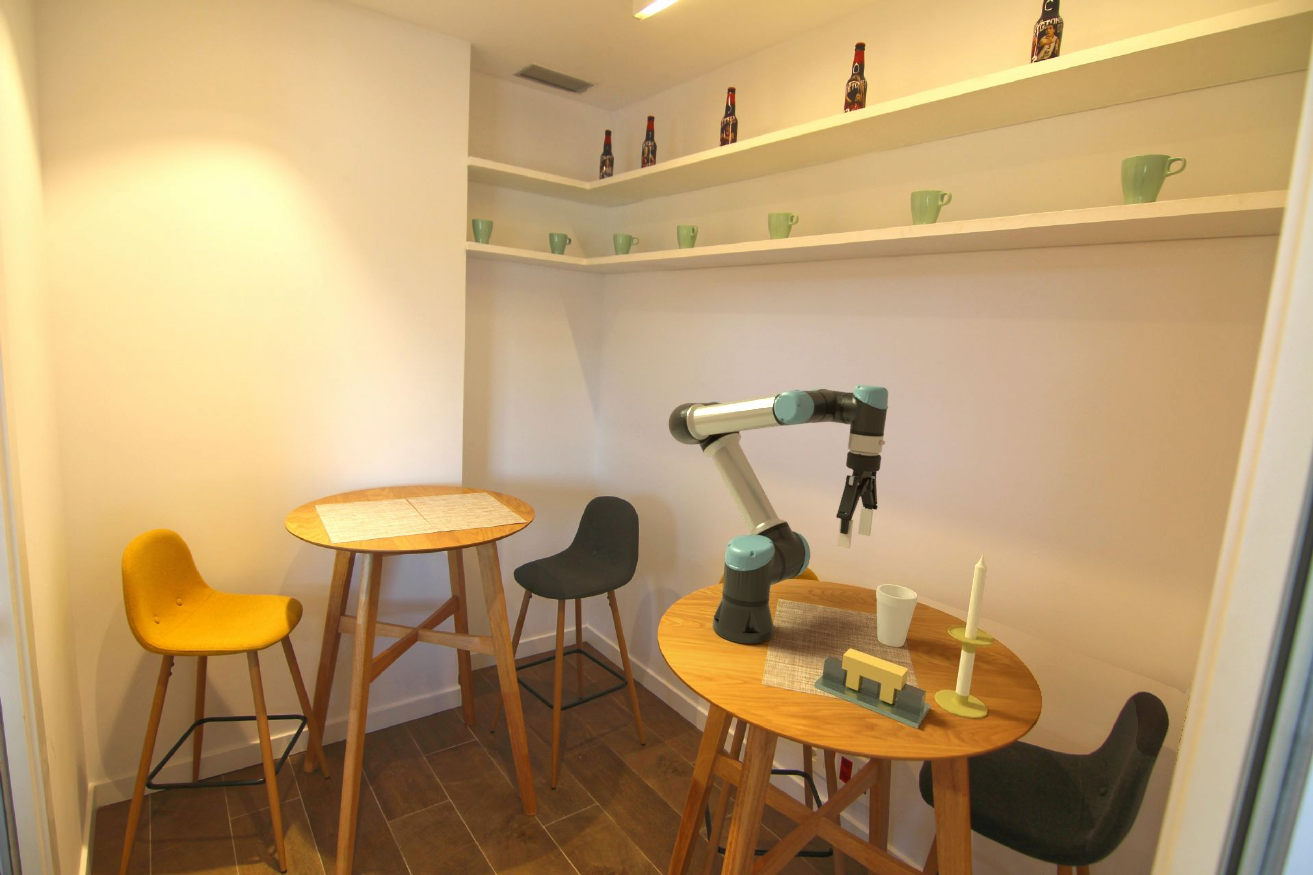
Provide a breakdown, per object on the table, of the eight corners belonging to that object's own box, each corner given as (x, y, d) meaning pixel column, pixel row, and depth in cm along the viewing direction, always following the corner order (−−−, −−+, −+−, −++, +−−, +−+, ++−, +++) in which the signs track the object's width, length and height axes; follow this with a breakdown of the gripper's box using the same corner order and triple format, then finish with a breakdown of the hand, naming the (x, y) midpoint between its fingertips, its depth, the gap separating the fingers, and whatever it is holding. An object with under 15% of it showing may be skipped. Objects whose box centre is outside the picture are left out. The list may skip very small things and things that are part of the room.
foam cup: (914, 652, 149) (920, 601, 147) (874, 646, 151) (880, 596, 149) (906, 635, 158) (912, 587, 156) (868, 629, 160) (874, 582, 158)
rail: (814, 686, 130) (816, 664, 130) (830, 670, 137) (832, 649, 137) (917, 728, 118) (920, 704, 117) (929, 708, 125) (932, 685, 124)
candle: (963, 722, 121) (987, 564, 116) (923, 695, 130) (944, 547, 125) (999, 713, 125) (1023, 560, 120) (957, 687, 134) (978, 544, 129)
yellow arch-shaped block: (839, 683, 129) (843, 654, 128) (846, 676, 133) (850, 648, 132) (898, 706, 122) (902, 676, 121) (904, 698, 125) (908, 668, 124)
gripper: (861, 460, 130) (850, 556, 134) (897, 449, 150) (886, 533, 153) (828, 455, 135) (818, 548, 138) (866, 445, 155) (857, 526, 158)
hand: (854, 540), depth 146 cm, fingers open, 13 cm apart
